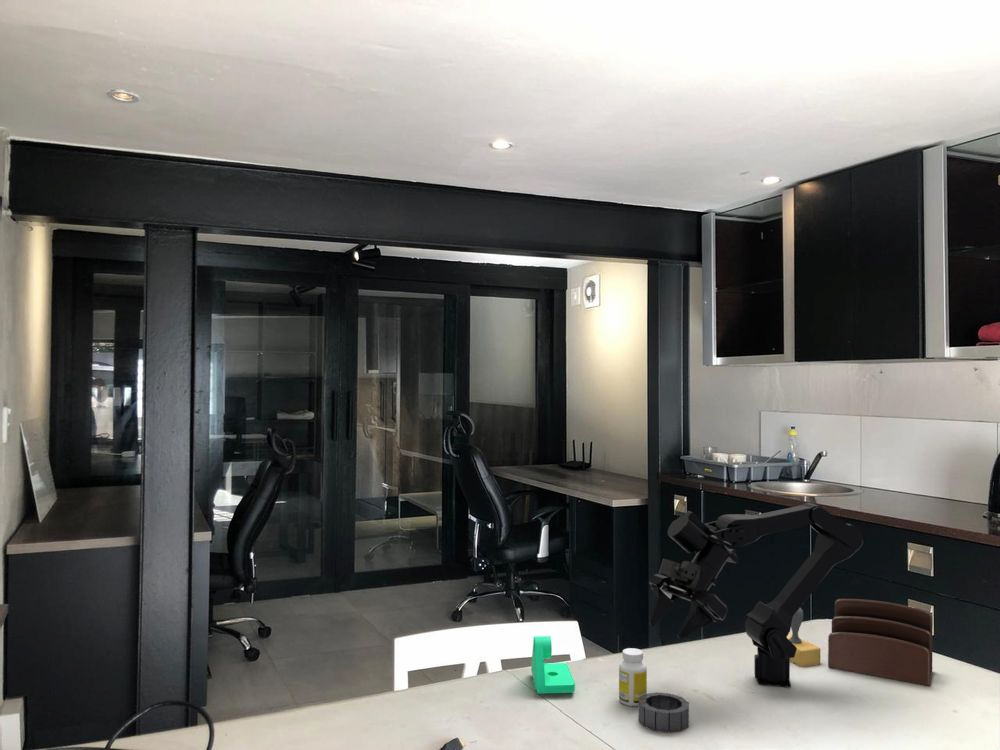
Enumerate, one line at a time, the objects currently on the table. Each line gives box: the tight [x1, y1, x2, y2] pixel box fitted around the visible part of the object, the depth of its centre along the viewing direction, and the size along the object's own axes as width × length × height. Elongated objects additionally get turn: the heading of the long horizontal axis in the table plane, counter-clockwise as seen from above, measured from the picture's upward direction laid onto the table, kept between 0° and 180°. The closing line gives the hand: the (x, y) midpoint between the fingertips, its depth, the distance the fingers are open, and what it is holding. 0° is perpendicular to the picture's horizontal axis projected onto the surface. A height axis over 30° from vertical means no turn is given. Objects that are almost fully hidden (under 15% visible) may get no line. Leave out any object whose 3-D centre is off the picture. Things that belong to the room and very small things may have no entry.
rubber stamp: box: [787, 607, 821, 668], centre depth 178 cm, size 10×6×12 cm, turn 19°
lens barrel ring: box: [638, 692, 690, 734], centre depth 144 cm, size 9×9×4 cm
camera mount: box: [530, 635, 576, 694], centre depth 161 cm, size 12×8×10 cm, turn 3°
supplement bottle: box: [618, 647, 648, 707], centre depth 153 cm, size 5×5×10 cm
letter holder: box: [827, 598, 934, 687], centre depth 171 cm, size 10×20×14 cm, turn 58°
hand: (664, 630), depth 156 cm, fingers open, 9 cm apart
